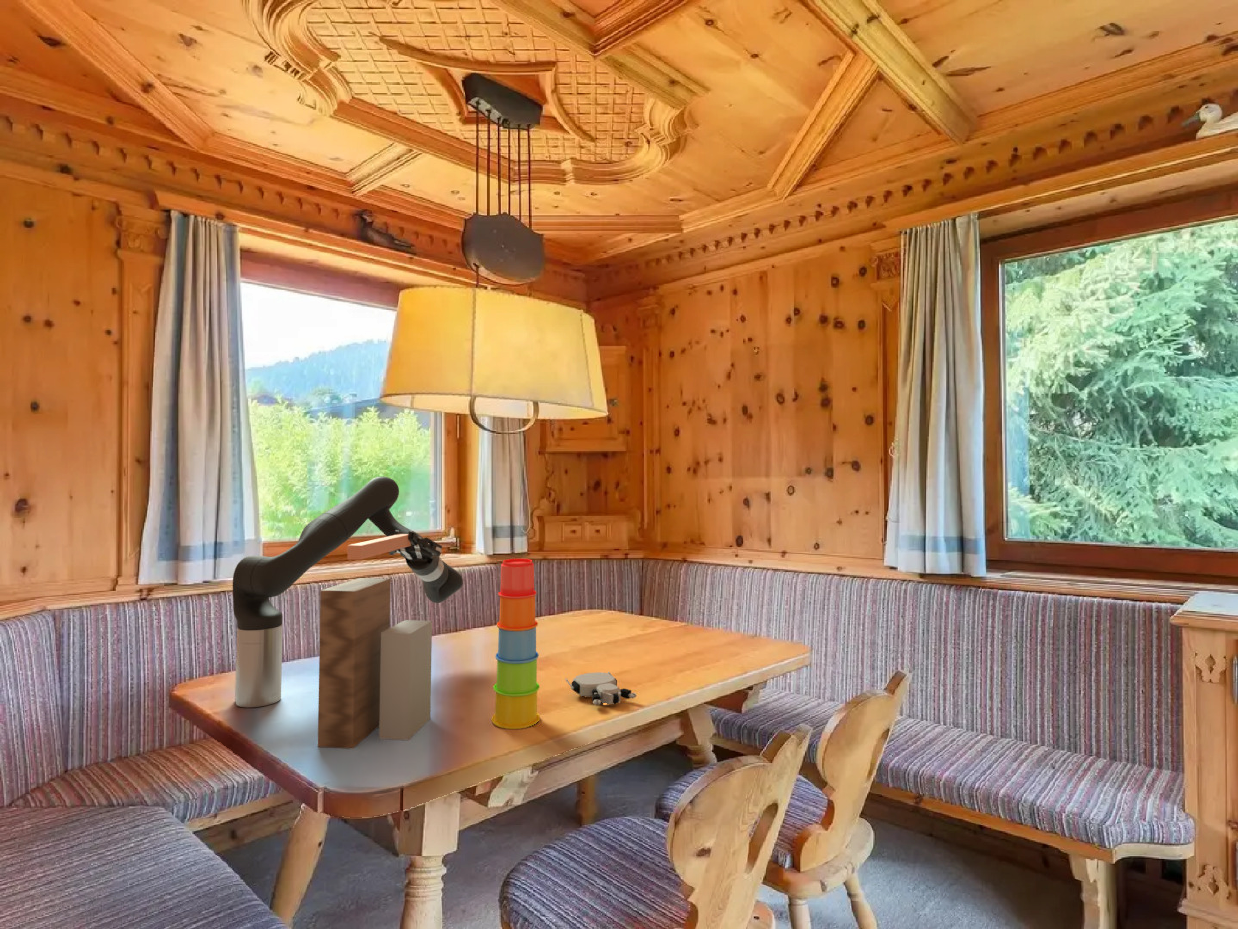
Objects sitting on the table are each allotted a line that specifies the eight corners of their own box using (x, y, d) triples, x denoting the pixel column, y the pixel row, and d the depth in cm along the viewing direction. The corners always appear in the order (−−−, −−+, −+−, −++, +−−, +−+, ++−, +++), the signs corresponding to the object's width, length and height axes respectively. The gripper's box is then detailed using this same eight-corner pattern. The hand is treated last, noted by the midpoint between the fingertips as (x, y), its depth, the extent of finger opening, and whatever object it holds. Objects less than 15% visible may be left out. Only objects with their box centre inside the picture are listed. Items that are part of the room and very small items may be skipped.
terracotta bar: (347, 559, 136) (347, 545, 136) (399, 545, 161) (399, 533, 161) (360, 559, 135) (361, 545, 135) (410, 545, 161) (411, 534, 161)
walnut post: (317, 746, 130) (320, 590, 130) (356, 717, 145) (359, 578, 146) (352, 748, 129) (355, 591, 130) (388, 718, 145) (390, 578, 145)
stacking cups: (549, 719, 146) (551, 558, 146) (517, 733, 137) (519, 563, 138) (514, 709, 152) (516, 555, 152) (481, 722, 143) (483, 559, 144)
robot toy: (639, 708, 156) (606, 685, 169) (640, 689, 156) (607, 668, 169) (593, 717, 150) (563, 693, 163) (594, 697, 150) (564, 674, 163)
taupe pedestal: (379, 739, 134) (381, 632, 134) (403, 717, 146) (405, 620, 146) (408, 740, 133) (410, 633, 134) (430, 718, 145) (431, 620, 146)
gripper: (402, 548, 177) (378, 519, 162) (454, 549, 176) (434, 520, 161) (396, 575, 173) (370, 548, 158) (449, 576, 172) (428, 549, 157)
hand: (403, 534), depth 160 cm, fingers closed on terracotta bar, 2 cm apart
